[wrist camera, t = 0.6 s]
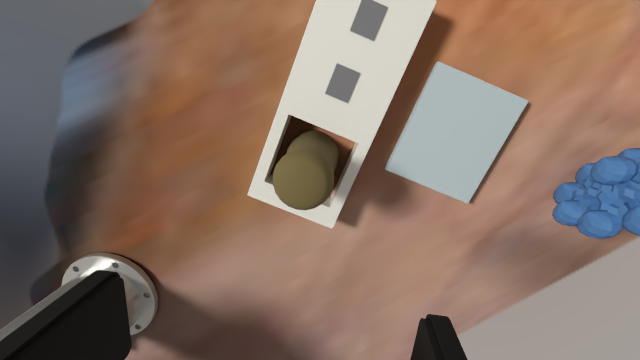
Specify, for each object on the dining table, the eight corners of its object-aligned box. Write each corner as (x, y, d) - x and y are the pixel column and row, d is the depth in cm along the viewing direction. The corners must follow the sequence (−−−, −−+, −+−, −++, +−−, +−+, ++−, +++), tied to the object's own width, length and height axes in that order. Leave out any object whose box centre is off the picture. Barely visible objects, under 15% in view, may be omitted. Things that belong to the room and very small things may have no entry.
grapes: (608, 106, 32) (763, 115, 20) (643, 153, 33) (809, 187, 21) (511, 181, 34) (598, 227, 23) (546, 222, 35) (646, 285, 24)
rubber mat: (464, 200, 35) (467, 203, 34) (384, 167, 35) (385, 169, 34) (523, 100, 32) (528, 100, 31) (435, 62, 31) (438, 61, 30)
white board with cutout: (332, 218, 37) (332, 229, 34) (254, 186, 36) (246, 195, 33) (427, 9, 30) (437, 0, 27) (333, -33, 29) (332, -47, 27)
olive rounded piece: (344, 136, 34) (347, 157, 23) (332, 187, 36) (330, 227, 25) (291, 124, 34) (269, 140, 23) (281, 176, 36) (258, 212, 25)
